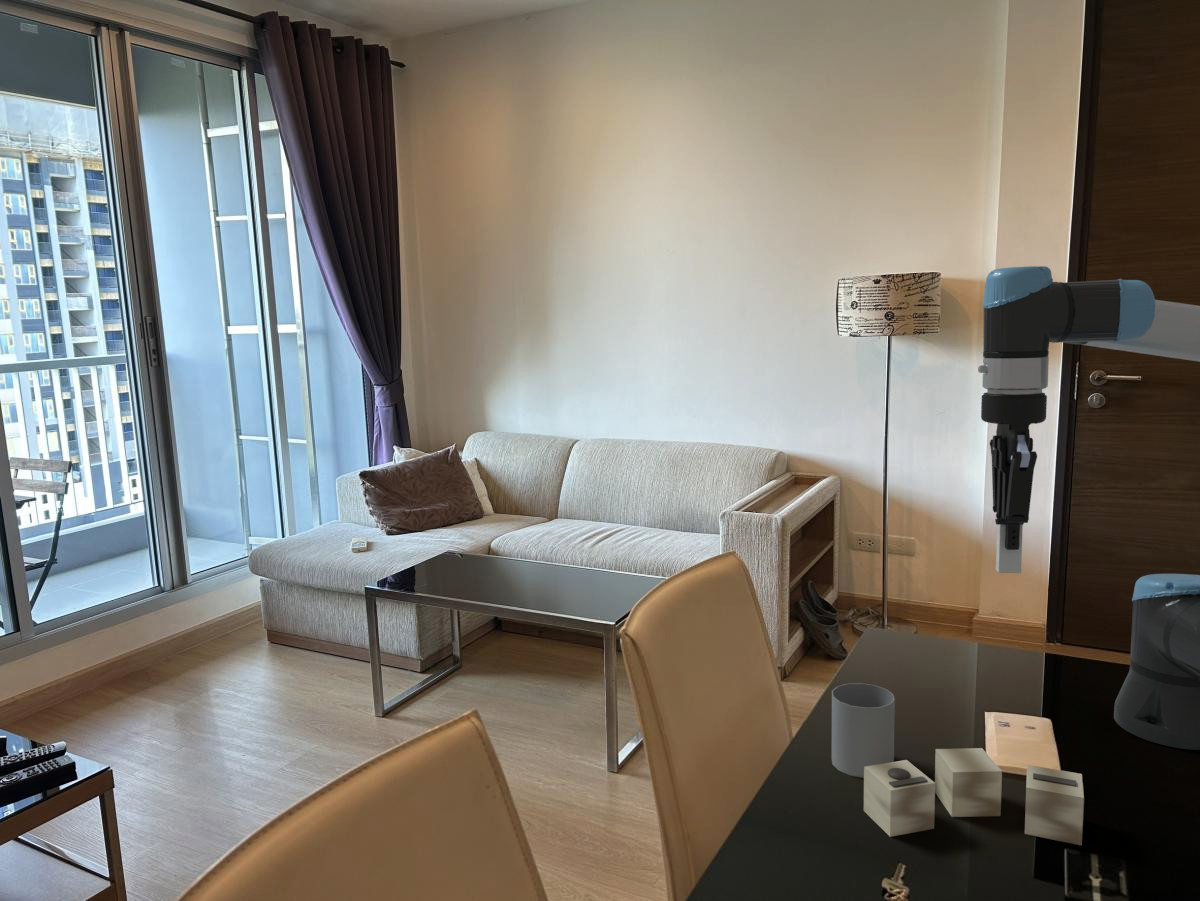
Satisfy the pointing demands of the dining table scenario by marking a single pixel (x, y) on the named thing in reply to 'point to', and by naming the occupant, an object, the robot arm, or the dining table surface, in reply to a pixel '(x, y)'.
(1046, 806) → the striped block
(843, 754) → the cup
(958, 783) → the plain block
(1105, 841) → the dining table surface
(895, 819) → the striped block
